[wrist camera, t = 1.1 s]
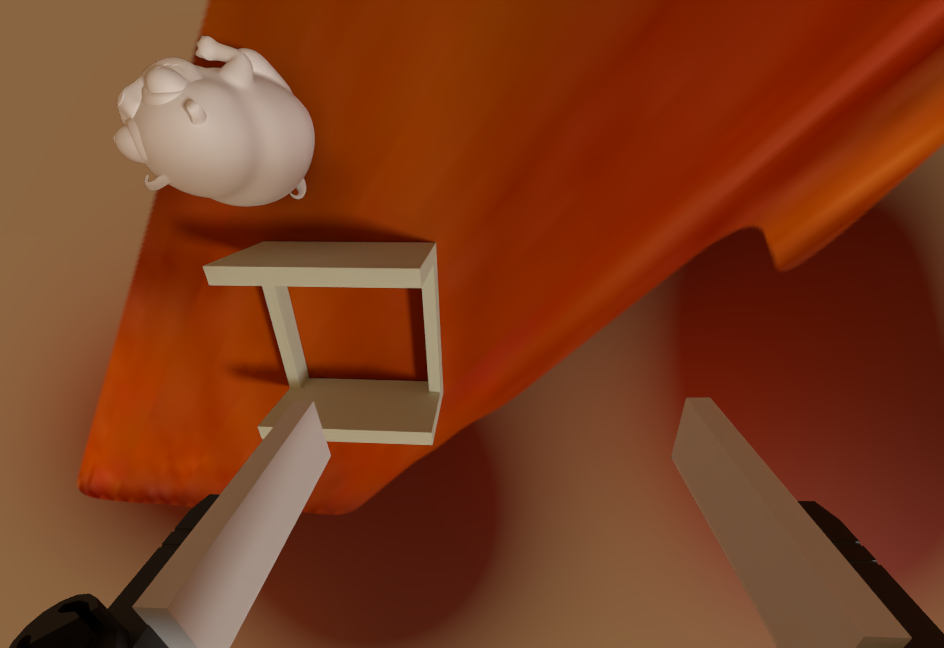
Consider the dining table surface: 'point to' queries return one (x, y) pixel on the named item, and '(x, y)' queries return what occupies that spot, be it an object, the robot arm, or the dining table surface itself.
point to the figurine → (217, 127)
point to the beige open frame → (346, 400)
